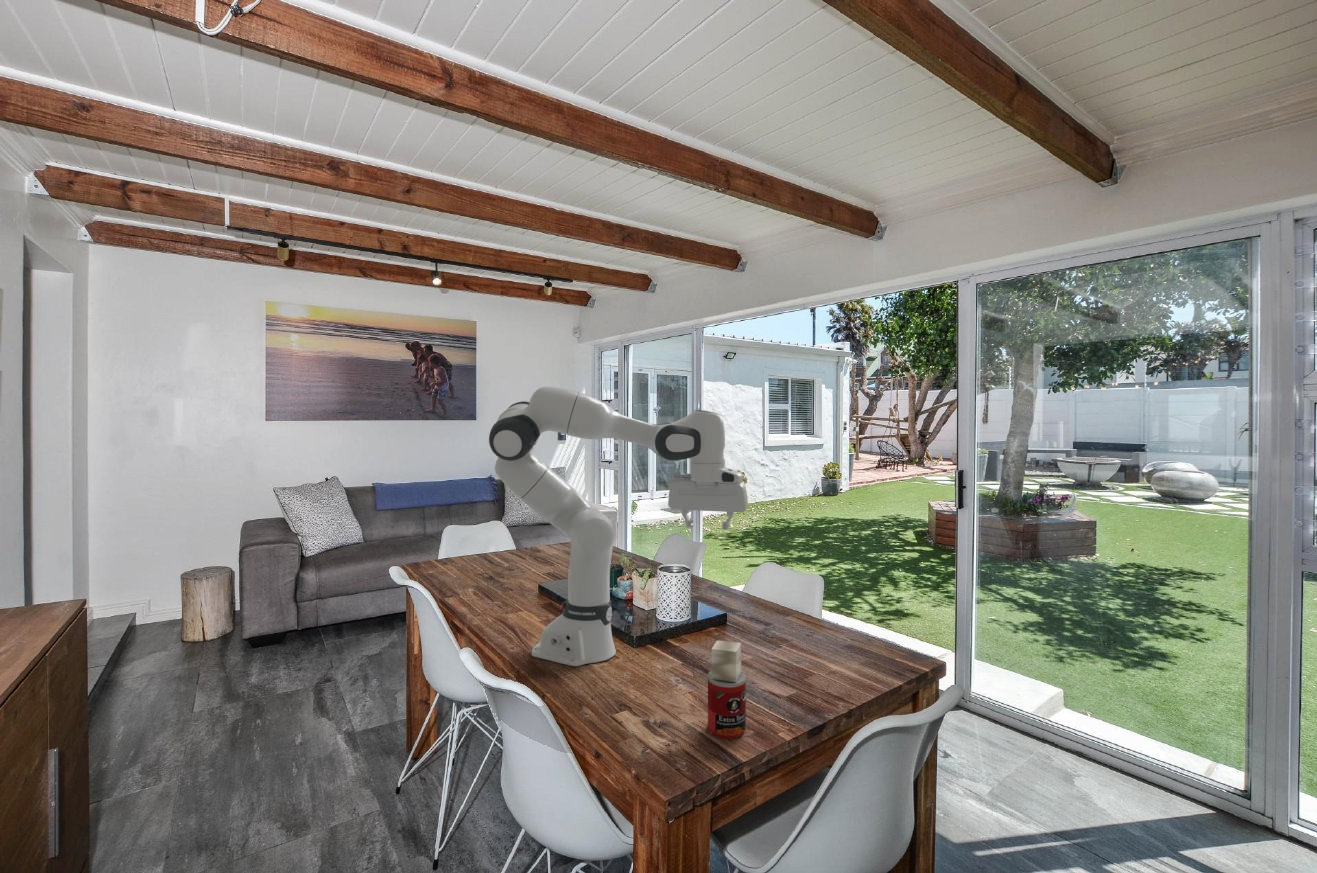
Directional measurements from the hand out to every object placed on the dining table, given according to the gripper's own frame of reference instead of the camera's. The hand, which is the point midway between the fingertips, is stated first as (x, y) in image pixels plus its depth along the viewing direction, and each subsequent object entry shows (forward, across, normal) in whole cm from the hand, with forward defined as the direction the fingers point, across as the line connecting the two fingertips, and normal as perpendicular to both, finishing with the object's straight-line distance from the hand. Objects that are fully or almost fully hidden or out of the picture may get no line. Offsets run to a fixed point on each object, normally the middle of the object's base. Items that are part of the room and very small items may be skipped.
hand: (707, 528), depth 151 cm
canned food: (+35, +11, -30) cm, 48 cm away
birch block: (+24, +11, -30) cm, 40 cm away
